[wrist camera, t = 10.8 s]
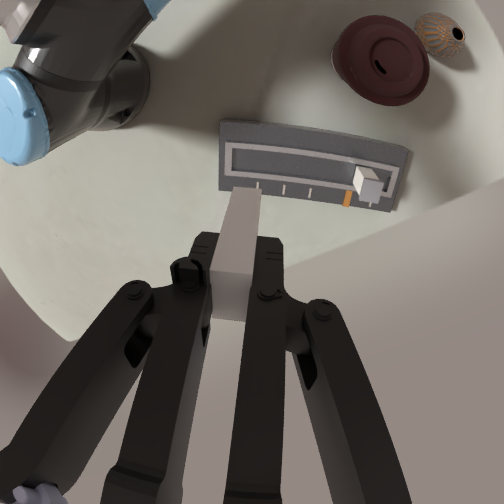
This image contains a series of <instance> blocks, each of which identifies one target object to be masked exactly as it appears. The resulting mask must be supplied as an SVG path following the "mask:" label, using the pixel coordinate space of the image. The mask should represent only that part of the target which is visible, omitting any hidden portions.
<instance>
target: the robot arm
mask: <svg viewBox="0 0 504 504" xmlns="http://www.w3.org/2000/svg"><path fill="white" fill-rule="evenodd" d="M170 1H171V0H0V26H2V27H3V28H4V29H5V31H6V34H7V37H8V39H9V42H10V43H12V44H20V45H23V46H22V48H21V50H20V52H19V54H18V56H17V58H16V60H15V63H14V65H13V66H12V67H6V68H3V69H2V70H1V71H0V158H1V159H3V160H4V161H5V162H7V163H9V164H11V165H14V166H24V165H27V164H29V163H31V162H33V161H35V160H37V159H41V158H43V157H44V156H45V155H46V154H47V153H49V152H50V151H52V150H54V149H55V148H57V147H59V146H60V145H62V144H64V143H66V142H67V141H69V140H71V139H73V138H75V137H76V136H78V135H80V134H82V133H84V132H86V131H108V130H112V129H115V128H118V127H120V126H122V125H124V124H126V123H128V122H129V121H131V120H132V119H133V118H134V117H135V116H136V115H137V114H138V113H139V112H140V110H141V109H142V107H143V105H144V104H145V101H146V99H147V96H148V92H149V87H150V74H149V69H148V66H147V63H146V61H145V59H144V57H143V56H142V54H141V53H140V52H139V51H138V50H137V49H135V48H134V47H132V46H131V45H132V44H133V43H134V41H135V40H136V39H137V38H138V37H139V35H140V34H141V33H142V32H143V31H144V30H145V28H146V27H147V26H148V25H149V24H150V23H151V22H152V21H155V20H156V19H157V15H158V14H159V13H160V11H161V10H162V9H163V8H164V7H165V6H166V5H167V4H168V3H169V2H170ZM261 193H262V189H257V188H246V187H233V191H232V194H231V197H230V201H229V204H228V207H227V211H226V214H225V217H224V221H223V224H222V228H221V231H220V233H213V232H201V233H200V234H199V235H198V236H197V237H196V238H195V240H194V243H193V246H192V248H191V251H190V253H189V256H188V257H183V258H179V259H177V260H176V261H174V262H173V263H172V265H171V266H170V270H171V276H172V282H173V284H171V285H168V286H164V287H158V288H151V287H150V285H149V284H148V283H147V282H145V281H141V280H134V281H130V282H128V283H126V284H125V285H124V286H122V287H121V288H120V290H119V291H118V292H117V293H116V294H115V296H114V297H113V298H112V299H111V300H110V302H109V303H108V304H107V305H106V306H105V308H104V309H103V310H102V311H101V313H100V314H99V315H98V316H97V318H96V319H95V320H94V321H93V323H92V324H91V325H90V327H89V328H88V329H87V330H86V332H85V333H84V334H83V336H82V337H81V338H80V339H79V341H78V342H77V343H76V345H75V346H74V347H73V349H72V350H71V352H70V353H69V354H68V356H67V357H66V358H65V360H64V361H63V362H62V364H61V365H60V367H59V368H58V369H57V371H56V372H55V374H54V375H53V376H52V378H51V379H50V381H49V382H48V384H47V385H46V387H45V388H44V390H43V391H42V393H41V394H40V396H39V397H38V399H37V400H36V402H35V403H34V405H33V406H32V408H31V409H30V411H29V413H28V414H27V416H26V417H25V419H24V421H23V422H22V424H21V426H20V427H19V429H18V431H17V432H16V434H15V436H14V437H13V439H12V441H11V443H10V444H9V445H8V446H7V447H5V448H4V449H3V450H1V451H0V502H1V503H4V504H68V502H67V500H66V499H65V498H64V497H63V495H64V494H65V493H66V492H67V491H68V490H69V489H70V488H71V487H72V486H73V485H74V484H75V483H76V481H77V479H78V478H79V476H80V475H81V473H82V471H83V470H84V468H85V466H86V464H87V463H88V461H89V459H90V457H91V456H92V454H93V452H94V450H95V448H96V447H97V445H98V443H99V442H100V440H101V438H102V436H103V435H104V433H105V431H106V429H107V428H108V426H109V424H110V423H111V421H112V419H113V418H114V416H115V414H116V413H117V411H118V409H119V407H120V406H121V404H122V402H123V401H124V399H125V397H126V396H127V394H128V392H129V391H130V389H131V388H132V386H133V384H134V383H135V381H136V379H137V378H138V376H139V374H140V373H141V371H142V370H143V371H142V374H141V378H140V381H139V385H138V388H137V391H136V394H135V398H134V401H133V405H132V408H131V412H130V416H129V419H128V423H127V427H126V431H125V435H124V438H123V443H122V446H121V450H120V454H119V458H118V461H117V463H116V465H115V466H113V467H112V468H111V469H110V470H109V472H108V474H107V476H106V479H105V482H104V487H103V492H102V497H101V502H100V504H181V503H182V495H183V488H182V479H183V473H184V467H185V461H186V455H187V449H188V444H189V438H190V433H191V427H192V421H193V416H194V410H195V405H196V400H197V394H198V389H199V384H200V379H201V374H202V368H203V363H204V358H205V353H206V348H207V343H208V338H209V333H210V318H211V314H212V317H213V318H217V319H225V320H234V321H244V322H246V324H245V333H244V340H243V349H242V357H241V365H240V374H239V382H238V391H237V398H236V407H235V415H234V424H233V431H232V440H231V448H230V456H229V464H228V472H227V480H226V488H225V494H224V501H223V504H282V498H281V493H280V484H281V467H282V448H283V427H284V398H285V397H284V396H285V352H286V351H289V352H292V355H293V359H294V363H295V366H296V369H297V373H298V376H299V380H300V384H301V387H302V391H303V394H304V398H305V402H306V405H307V408H308V412H309V416H310V420H311V423H312V427H313V431H314V434H315V438H316V442H317V445H318V449H319V452H320V456H321V459H322V464H323V467H324V471H325V475H326V478H327V482H328V486H329V489H330V493H331V497H332V501H333V504H412V501H411V498H410V495H409V491H408V488H407V485H406V482H405V478H404V475H403V472H402V469H401V466H400V463H399V460H398V457H397V454H396V451H395V448H394V445H393V442H392V440H391V437H390V434H389V431H388V429H387V426H386V423H385V420H384V418H383V415H382V412H381V410H380V407H379V404H378V402H377V399H376V397H375V394H374V391H373V389H372V386H371V384H370V381H369V379H368V376H367V374H366V371H365V369H364V367H363V364H362V362H361V359H360V357H359V355H358V352H357V350H356V347H355V345H354V343H353V340H352V338H351V336H350V334H349V331H348V329H347V327H346V324H345V322H344V320H343V318H342V316H341V313H340V311H339V309H338V308H337V307H336V305H334V304H333V303H332V302H330V301H328V300H325V299H315V300H311V301H310V302H309V303H307V304H306V303H303V302H300V301H298V300H296V299H294V298H292V297H291V296H289V295H288V293H287V292H286V290H285V289H284V276H283V275H284V265H283V244H282V243H281V241H280V239H279V238H273V237H263V236H257V235H258V225H259V214H260V203H261Z"/></svg>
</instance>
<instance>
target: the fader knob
mask: <svg viewBox="0 0 504 504" xmlns="http://www.w3.org/2000/svg"><path fill="white" fill-rule="evenodd" d="M353 184H354V186H355V188H356V190H357V192H358V194H359V201H365V202H370V203H376V204H378V202H379V199H380V196H381V192H382V189H383V185H384V182H383V181H380V180H379V178H378V177H377V176H376V174H375V173H374V172H373V170H372V169H371V168H365V167H360V166H356V171H355V175H354V179H353Z"/></svg>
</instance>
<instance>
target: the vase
mask: <svg viewBox="0 0 504 504" xmlns="http://www.w3.org/2000/svg"><path fill="white" fill-rule="evenodd" d="M415 34H416V35H417V36H418V37H419V39H420V40H421V42H422V43H423V45H424V47H425V49H426V50H427V51H428V52H430V53H431V54H433V55H436V56H440V57H451V56H454V55H456V54H458V53H459V52H460V51H461V50H462V48H463V46H464V40H465V34H464V32H463V30H462V29H461V28H460V27H459V26H458V24H457V23H456V22H455V21H453V20H452V19H451V18H449V17H447V16H445V15H442V14H439V13H429V14H425V15H423V16H421V17H420V18H419V19H418V20H417V22H416V24H415Z"/></svg>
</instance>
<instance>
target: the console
mask: <svg viewBox="0 0 504 504" xmlns="http://www.w3.org/2000/svg"><path fill="white" fill-rule="evenodd" d="M407 154H408V150H407V149H406V148H405V147H403V146H399V145H395V144H391V143H387V142H383V141H379V140H375V139H370V138H366V137H361V136H356V135H351V134H346V133H340V132H335V131H329V130H323V129H317V128H310V127H303V126H296V125H288V124H279V123H269V122H258V121H246V120H229V119H222V120H221V121H220V137H219V190H220V191H233V187H246V188H257V189H262V193H261V194H262V195H271V196H280V197H289V198H297V199H305V200H312V201H320V202H327V203H334V204H341V205H342V206H345V207H349V206H354V207H360V208H366V209H372V210H378V211H384V212H391V209H392V206H393V202H394V199H395V196H396V193H397V190H398V186H399V183H400V180H401V176H402V173H403V169H404V165H405V162H406V158H407ZM356 166H360V167H365V168H371V169H372V170H373V172H374V173H375V174H376V176H377V177H378V178H379V180H380V181H383V182H384V185H383V189H382V192H381V196H380V199H379V202H378V204H376V203H370V202H365V201H359V194H358V192H357V190H356V188H355V186H354V184H353V179H354V175H355V171H356Z"/></svg>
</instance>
